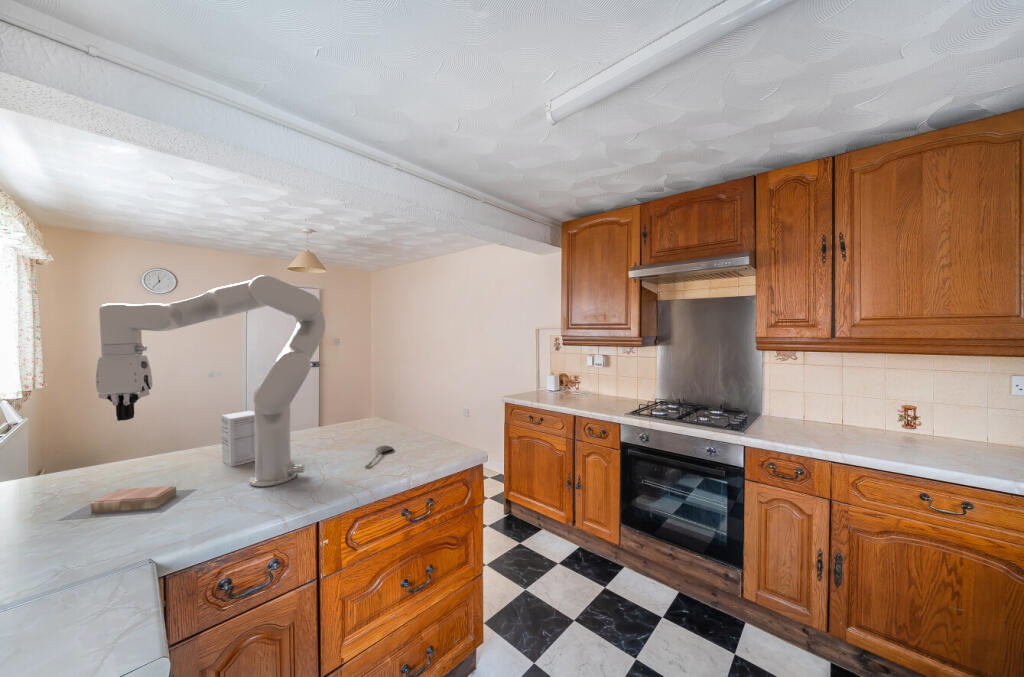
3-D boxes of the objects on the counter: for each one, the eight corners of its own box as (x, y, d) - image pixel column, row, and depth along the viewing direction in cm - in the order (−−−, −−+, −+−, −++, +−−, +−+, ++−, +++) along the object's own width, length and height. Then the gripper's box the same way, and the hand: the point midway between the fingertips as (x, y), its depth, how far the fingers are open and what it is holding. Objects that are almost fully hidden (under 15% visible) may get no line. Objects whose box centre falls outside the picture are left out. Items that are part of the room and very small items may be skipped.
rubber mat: (197, 490, 109) (197, 489, 109) (162, 514, 96) (162, 512, 96) (107, 496, 105) (107, 495, 105) (58, 522, 91) (58, 520, 91)
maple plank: (117, 498, 103) (176, 494, 106) (91, 512, 95) (155, 507, 98) (117, 489, 103) (176, 485, 106) (90, 502, 95) (155, 497, 98)
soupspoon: (396, 450, 150) (379, 451, 150) (395, 442, 150) (379, 443, 150) (376, 469, 128) (357, 470, 128) (376, 459, 128) (356, 460, 128)
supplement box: (251, 454, 141) (251, 410, 140) (262, 459, 136) (261, 413, 135) (221, 461, 133) (220, 414, 133) (230, 467, 128) (229, 418, 127)
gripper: (165, 349, 104) (168, 414, 105) (101, 350, 101) (104, 417, 102) (144, 350, 97) (147, 421, 97) (74, 352, 94) (78, 424, 94)
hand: (125, 419), depth 100 cm, fingers closed
